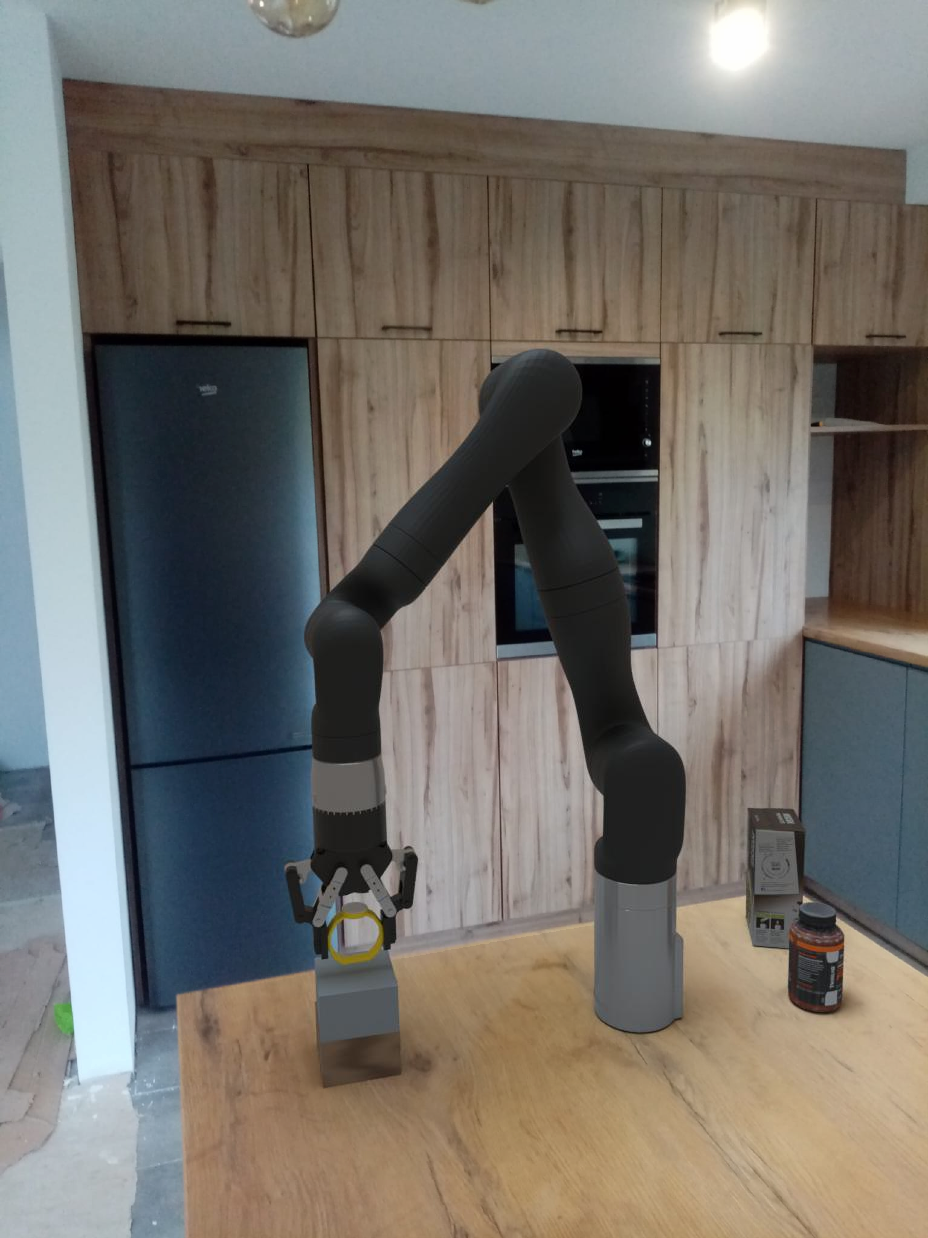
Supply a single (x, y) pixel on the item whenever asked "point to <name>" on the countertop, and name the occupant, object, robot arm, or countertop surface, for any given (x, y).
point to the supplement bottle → (816, 959)
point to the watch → (355, 912)
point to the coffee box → (773, 874)
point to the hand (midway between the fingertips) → (355, 950)
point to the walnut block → (358, 1058)
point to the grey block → (356, 997)
